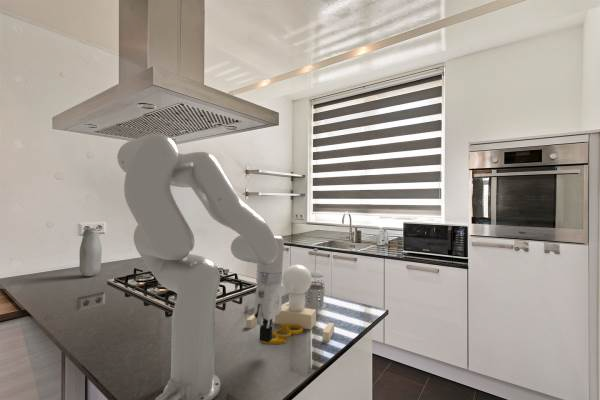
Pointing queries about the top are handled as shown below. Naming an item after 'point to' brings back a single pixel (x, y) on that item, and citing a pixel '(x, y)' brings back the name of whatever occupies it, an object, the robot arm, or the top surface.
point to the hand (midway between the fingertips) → (265, 340)
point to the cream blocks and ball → (296, 302)
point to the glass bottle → (90, 252)
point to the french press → (315, 291)
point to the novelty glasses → (285, 328)
